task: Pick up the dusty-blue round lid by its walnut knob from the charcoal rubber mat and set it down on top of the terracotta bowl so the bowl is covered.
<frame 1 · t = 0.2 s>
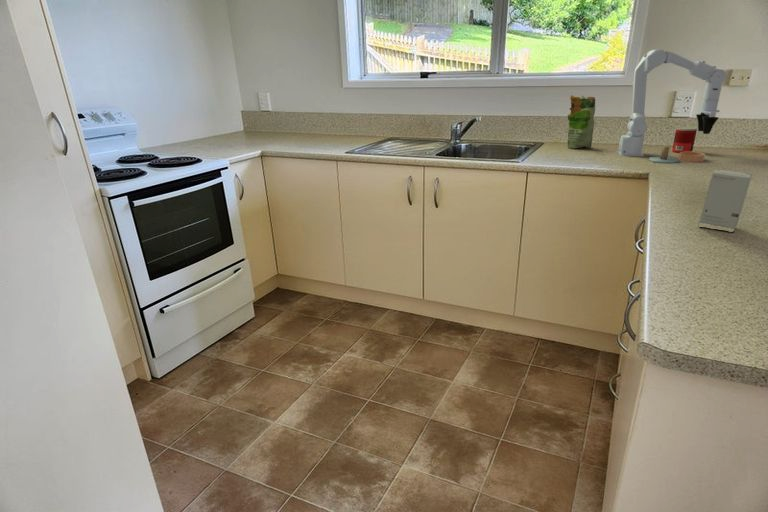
hand: (703, 132, 208), 10 cm above the counter, tool pointing down, fingers open, 7 cm apart
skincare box: (718, 228, 129), on the counter
pouch: (577, 148, 240), on the counter
bowl: (690, 160, 204), on the counter
canned food: (681, 153, 220), on the counter
mat: (663, 161, 204), on the counter
lid: (663, 160, 204), resting on mat
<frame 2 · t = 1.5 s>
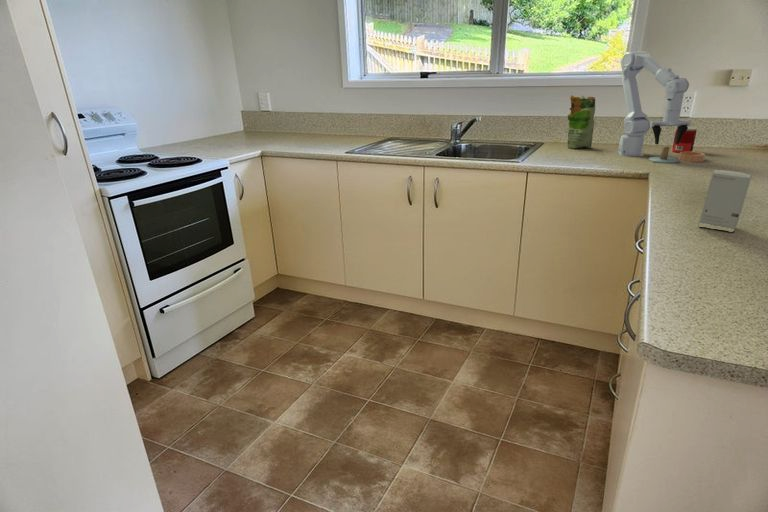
hand: (666, 144, 202), 7 cm above the counter, tool pointing down, fingers open, 7 cm apart
nothing on the counter moved.
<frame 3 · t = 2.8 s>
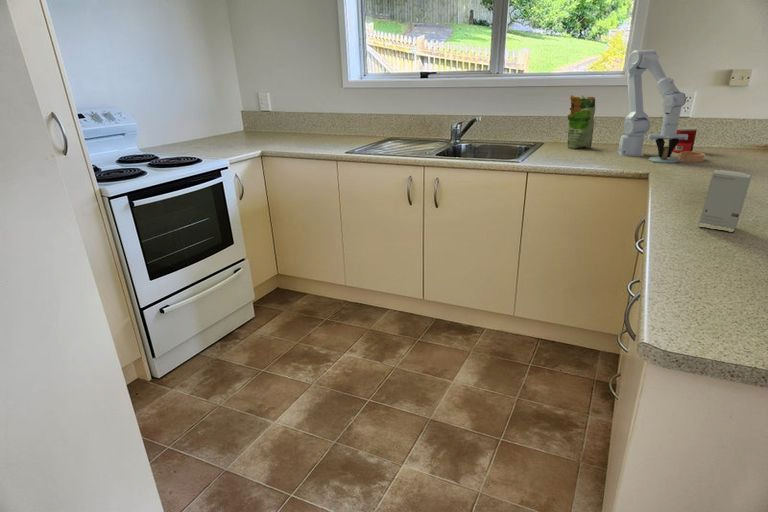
hand: (664, 156, 204), 2 cm above the counter, tool pointing down, fingers closed on lid, 3 cm apart
lid: (663, 160, 204), resting on mat, touching gripper
everything else where it was.
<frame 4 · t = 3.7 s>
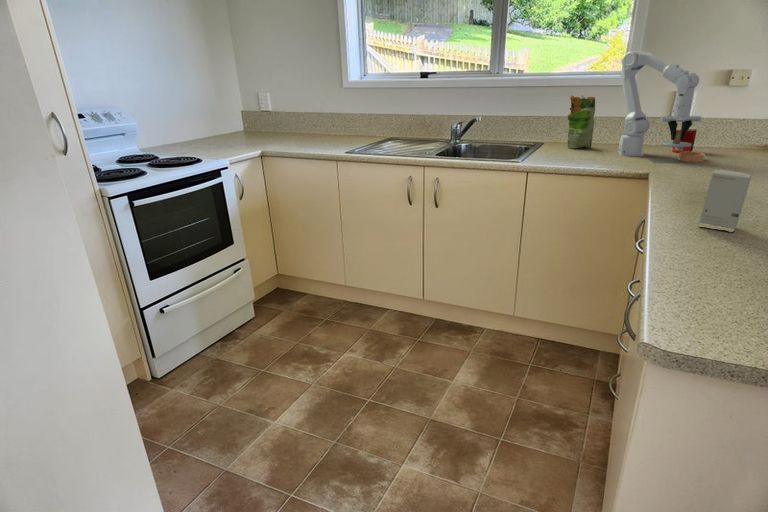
hand: (676, 139, 201), 9 cm above the counter, tool pointing down, fingers closed on lid, 3 cm apart
lid: (675, 144, 201), point 7 cm above the counter, touching gripper
everything else where it was.
when the fingers open (6 cm above the counter, at t = 4.9 s): lid stays where it is, resting on bowl.
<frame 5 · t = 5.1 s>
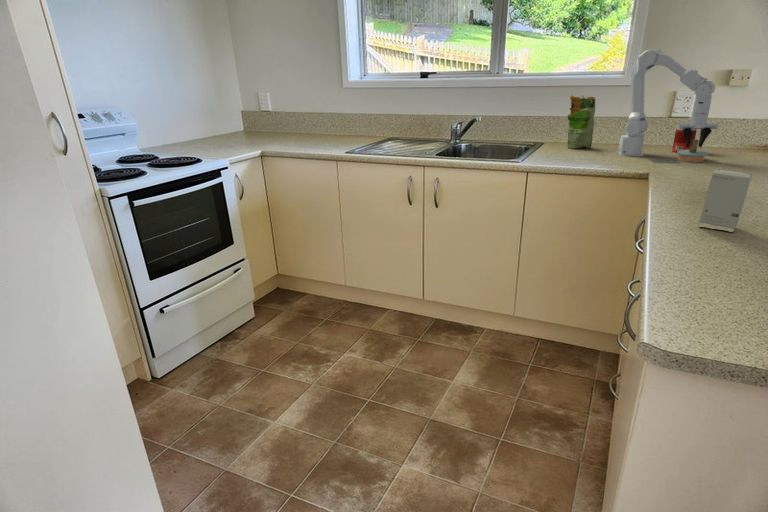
hand: (693, 146, 202), 6 cm above the counter, tool pointing down, fingers open, 4 cm apart
lid: (692, 153, 202), point 3 cm above the counter, touching bowl
everything else where it was.
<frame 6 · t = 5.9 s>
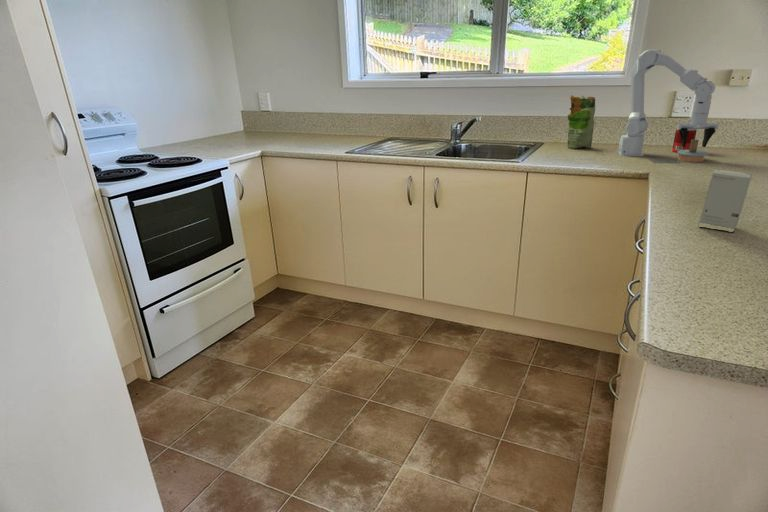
hand: (693, 146, 202), 6 cm above the counter, tool pointing down, fingers open, 7 cm apart
nothing on the counter moved.
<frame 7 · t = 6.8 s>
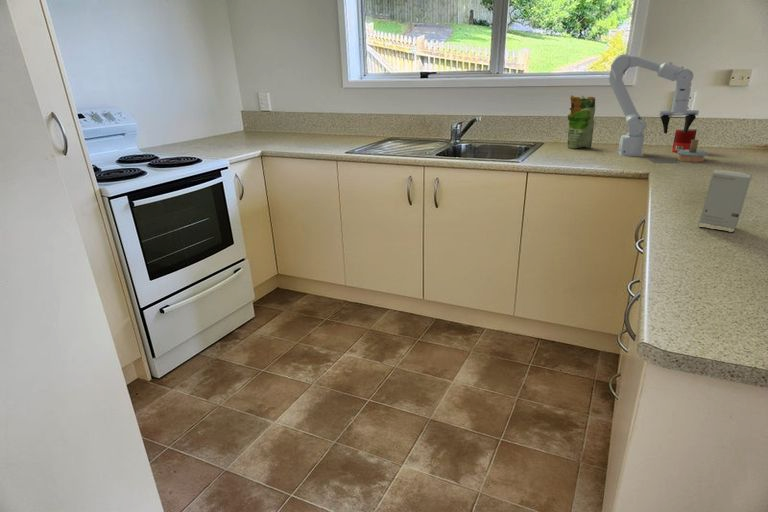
hand: (675, 133, 207), 10 cm above the counter, tool pointing down, fingers open, 7 cm apart
nothing on the counter moved.
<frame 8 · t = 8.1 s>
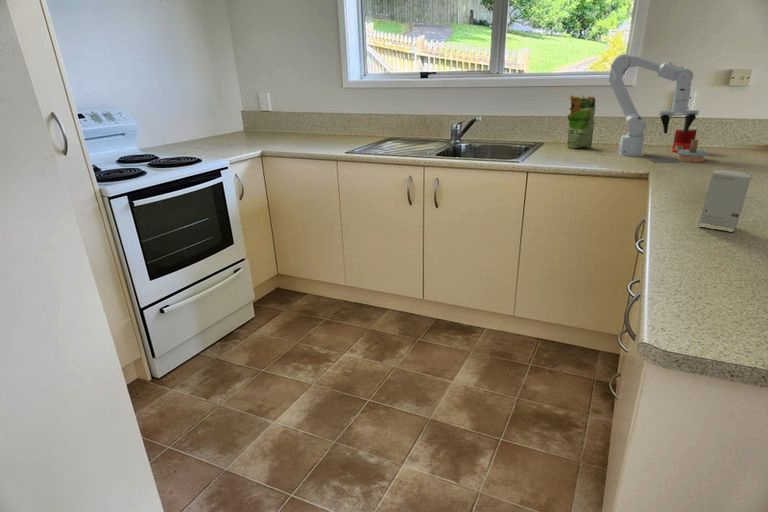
hand: (675, 133, 207), 10 cm above the counter, tool pointing down, fingers open, 7 cm apart
nothing on the counter moved.
at the end: lid 0.2 cm off-centre on the bowl, point 3.0 cm above the bowl's base; lid tilted 0°; the gripper is holding nothing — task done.
